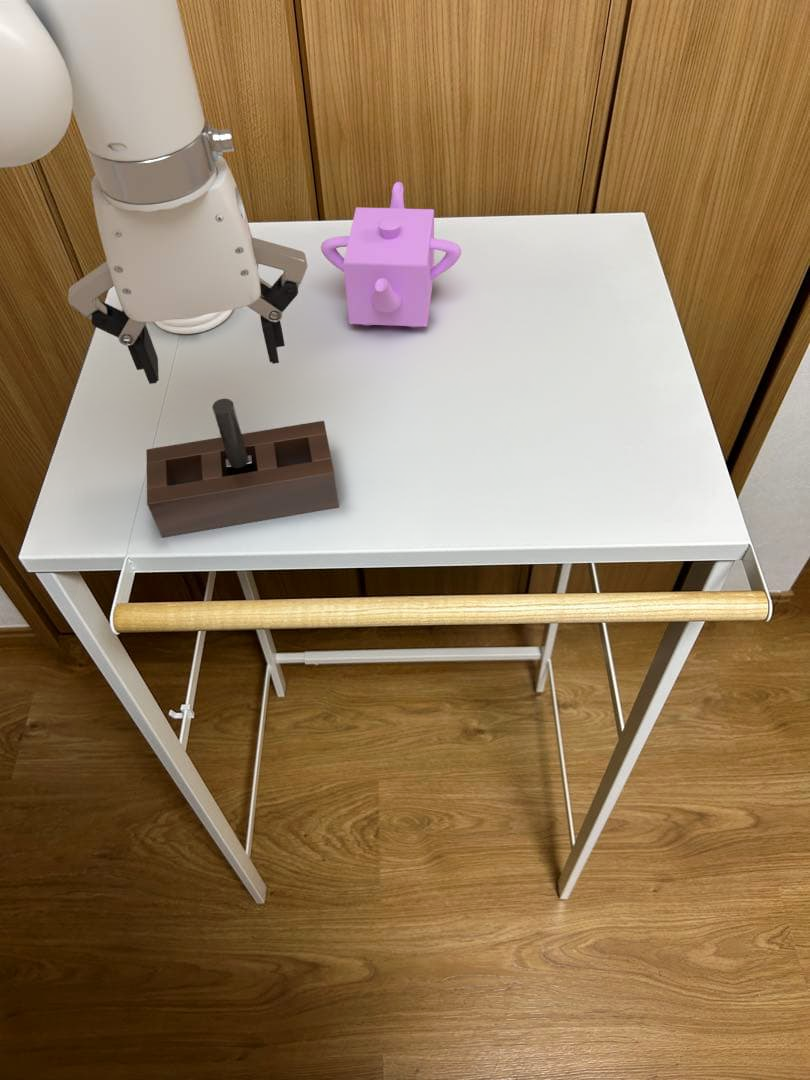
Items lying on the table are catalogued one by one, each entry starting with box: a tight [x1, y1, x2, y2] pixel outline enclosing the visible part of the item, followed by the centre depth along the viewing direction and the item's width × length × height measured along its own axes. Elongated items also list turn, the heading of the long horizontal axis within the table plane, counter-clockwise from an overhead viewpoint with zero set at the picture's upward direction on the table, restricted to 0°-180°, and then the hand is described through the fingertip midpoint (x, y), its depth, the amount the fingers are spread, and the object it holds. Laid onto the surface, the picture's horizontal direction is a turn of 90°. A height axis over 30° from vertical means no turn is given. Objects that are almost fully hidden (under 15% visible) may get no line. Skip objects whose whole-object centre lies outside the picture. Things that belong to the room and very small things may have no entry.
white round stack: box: [153, 309, 234, 335], centre depth 96 cm, size 10×10×4 cm
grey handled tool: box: [212, 398, 255, 476], centre depth 76 cm, size 2×2×12 cm
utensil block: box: [145, 420, 340, 538], centre depth 78 cm, size 7×17×5 cm, turn 101°
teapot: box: [320, 181, 462, 329], centre depth 92 cm, size 15×13×11 cm
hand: (214, 362), depth 67 cm, fingers open, 9 cm apart
